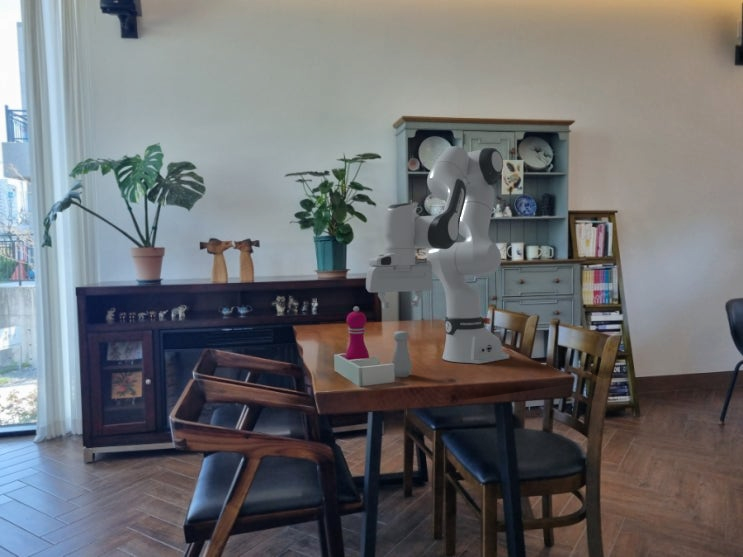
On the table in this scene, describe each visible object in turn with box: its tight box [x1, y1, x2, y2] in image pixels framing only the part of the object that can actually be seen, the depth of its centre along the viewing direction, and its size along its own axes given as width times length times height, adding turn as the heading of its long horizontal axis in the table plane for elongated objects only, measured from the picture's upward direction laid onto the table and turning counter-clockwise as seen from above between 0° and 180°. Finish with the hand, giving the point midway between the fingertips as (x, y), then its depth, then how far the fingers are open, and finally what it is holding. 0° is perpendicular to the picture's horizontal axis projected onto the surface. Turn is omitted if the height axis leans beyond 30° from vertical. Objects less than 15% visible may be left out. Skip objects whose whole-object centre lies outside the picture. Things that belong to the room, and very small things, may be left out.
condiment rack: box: [333, 352, 395, 387], centre depth 146 cm, size 10×21×5 cm, turn 23°
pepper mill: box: [345, 306, 370, 360], centre depth 150 cm, size 7×7×20 cm
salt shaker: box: [392, 330, 413, 379], centre depth 145 cm, size 6×6×13 cm
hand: (400, 307), depth 144 cm, fingers open, 8 cm apart
